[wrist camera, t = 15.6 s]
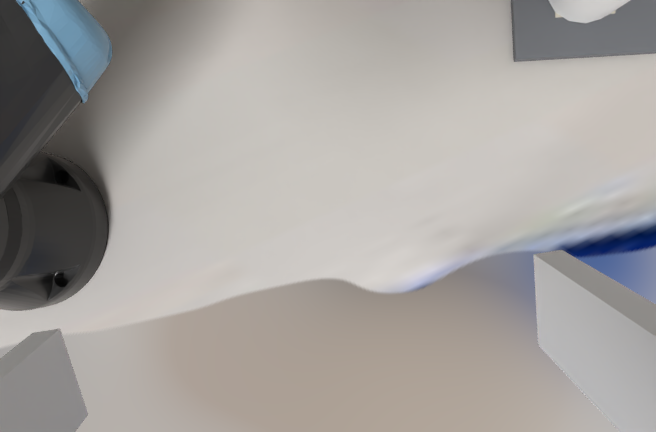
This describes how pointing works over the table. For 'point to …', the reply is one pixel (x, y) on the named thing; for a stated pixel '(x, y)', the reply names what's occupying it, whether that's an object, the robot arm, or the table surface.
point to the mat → (581, 32)
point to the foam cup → (585, 9)
